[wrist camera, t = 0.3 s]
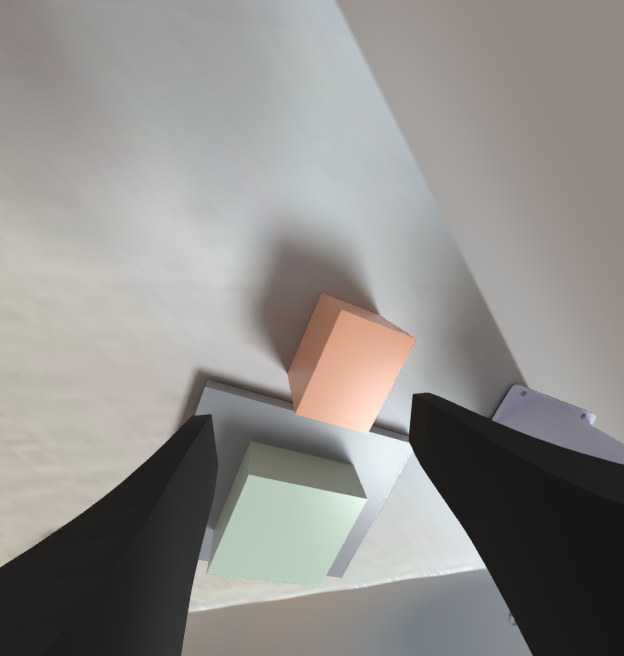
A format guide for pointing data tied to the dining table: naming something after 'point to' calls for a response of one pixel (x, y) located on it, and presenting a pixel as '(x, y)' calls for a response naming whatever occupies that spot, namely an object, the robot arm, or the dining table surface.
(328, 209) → the dining table surface
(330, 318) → the top brick
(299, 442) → the tower base
